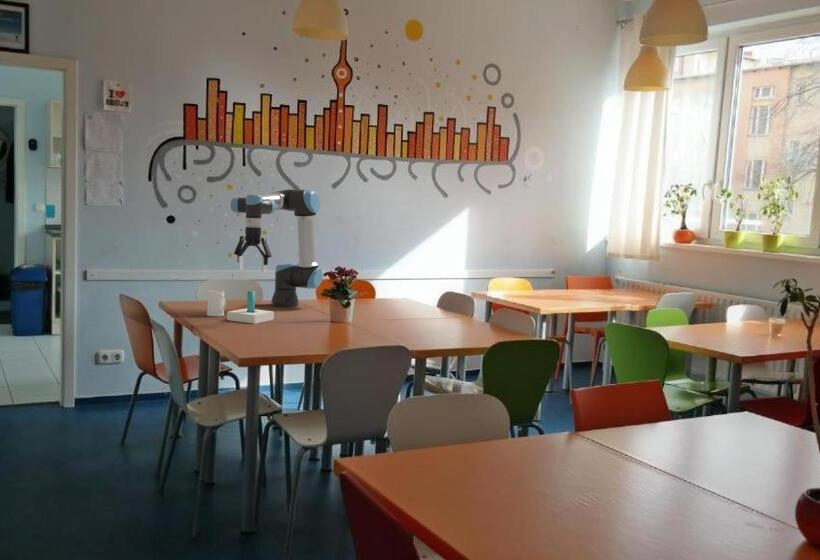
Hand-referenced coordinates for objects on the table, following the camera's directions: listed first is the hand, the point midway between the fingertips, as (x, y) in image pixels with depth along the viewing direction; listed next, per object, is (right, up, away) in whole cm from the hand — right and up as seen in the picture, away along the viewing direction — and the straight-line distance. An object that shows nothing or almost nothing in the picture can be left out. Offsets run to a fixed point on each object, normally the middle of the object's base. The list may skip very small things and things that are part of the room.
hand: (252, 270), depth 393 cm
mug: (-19, -22, +11) cm, 32 cm away
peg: (-1, -24, +2) cm, 24 cm away
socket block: (-1, -24, +2) cm, 24 cm away
